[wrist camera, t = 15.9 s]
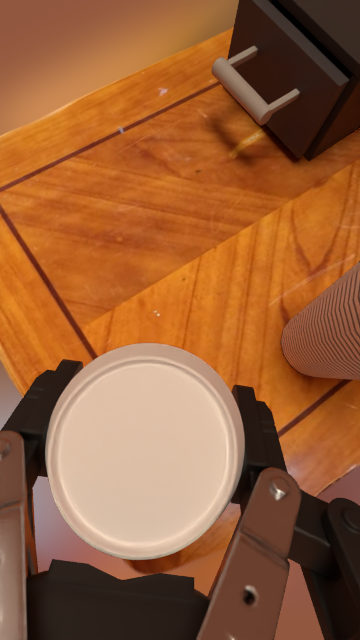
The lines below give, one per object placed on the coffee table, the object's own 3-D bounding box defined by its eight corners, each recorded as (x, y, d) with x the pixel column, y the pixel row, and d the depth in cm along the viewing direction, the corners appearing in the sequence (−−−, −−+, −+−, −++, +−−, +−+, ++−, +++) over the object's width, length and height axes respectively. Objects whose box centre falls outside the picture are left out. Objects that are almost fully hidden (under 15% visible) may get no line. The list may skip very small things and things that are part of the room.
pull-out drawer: (262, 181, 32) (295, 113, 24) (188, 98, 34) (196, 11, 26) (384, 101, 35) (446, 20, 27) (310, 30, 37) (349, -65, 29)
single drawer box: (308, 161, 34) (366, 70, 24) (229, 77, 36) (254, -37, 26) (398, 101, 36) (482, -2, 27) (320, 26, 39) (372, -94, 29)
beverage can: (127, 490, 18) (73, 652, 7) (88, 394, 20) (-16, 392, 8) (218, 441, 19) (307, 509, 8) (176, 353, 21) (197, 297, 9)
